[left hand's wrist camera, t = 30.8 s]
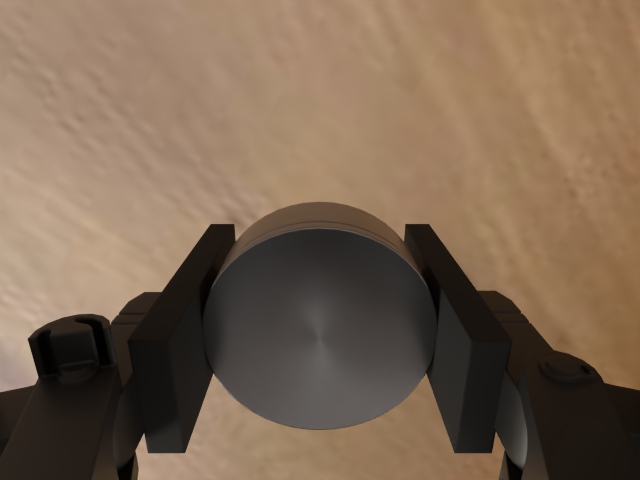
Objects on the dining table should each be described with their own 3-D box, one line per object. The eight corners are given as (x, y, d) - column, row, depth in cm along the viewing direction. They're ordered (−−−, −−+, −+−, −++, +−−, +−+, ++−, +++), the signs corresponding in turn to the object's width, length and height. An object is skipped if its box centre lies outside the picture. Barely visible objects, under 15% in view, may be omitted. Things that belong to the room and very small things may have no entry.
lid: (337, 408, 14) (340, 462, 12) (182, 314, 12) (157, 357, 10) (462, 279, 12) (488, 318, 10) (298, 157, 11) (293, 175, 9)
